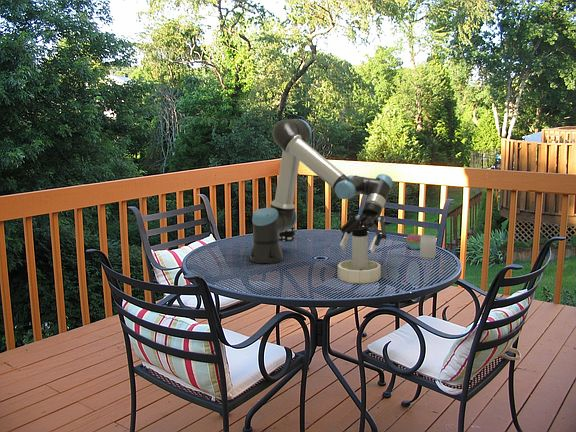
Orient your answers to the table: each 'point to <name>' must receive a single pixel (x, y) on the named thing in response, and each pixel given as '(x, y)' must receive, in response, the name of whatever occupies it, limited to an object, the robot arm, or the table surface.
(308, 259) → the table surface
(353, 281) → the bowl
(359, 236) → the travel mug
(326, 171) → the robot arm
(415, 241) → the cupcake
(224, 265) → the table surface
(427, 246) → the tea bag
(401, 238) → the table surface
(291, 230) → the white-spotted black cylinder
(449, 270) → the table surface
